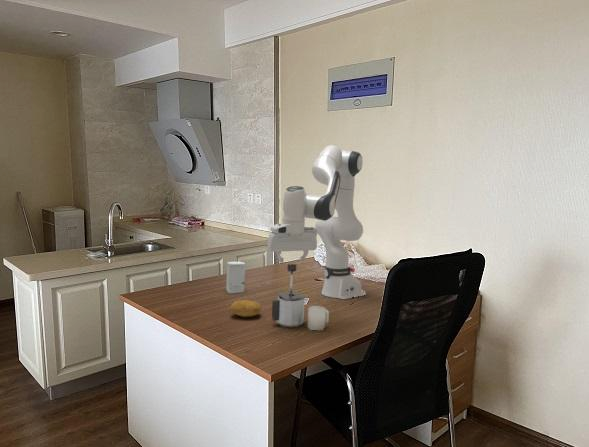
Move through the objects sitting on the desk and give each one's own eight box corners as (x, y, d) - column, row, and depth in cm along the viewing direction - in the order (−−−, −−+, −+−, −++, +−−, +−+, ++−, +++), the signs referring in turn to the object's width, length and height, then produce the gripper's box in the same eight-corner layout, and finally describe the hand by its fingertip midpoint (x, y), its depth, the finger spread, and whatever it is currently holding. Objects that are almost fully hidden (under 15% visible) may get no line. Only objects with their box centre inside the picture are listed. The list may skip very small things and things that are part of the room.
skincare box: (228, 293, 216) (229, 264, 214) (225, 290, 221) (226, 261, 219) (245, 292, 219) (245, 263, 217) (241, 289, 224) (242, 260, 222)
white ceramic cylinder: (323, 323, 180) (323, 304, 179) (330, 329, 173) (331, 310, 172) (304, 325, 176) (305, 306, 175) (311, 332, 170) (312, 312, 169)
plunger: (295, 296, 182) (297, 262, 180) (303, 302, 176) (304, 266, 174) (278, 298, 180) (279, 263, 178) (285, 304, 173) (286, 267, 171)
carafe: (297, 317, 186) (298, 290, 184) (307, 326, 176) (308, 297, 174) (268, 320, 181) (268, 292, 179) (276, 329, 171) (277, 300, 170)
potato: (259, 320, 180) (259, 304, 179) (228, 319, 181) (228, 303, 180) (261, 313, 190) (262, 297, 189) (232, 312, 190) (232, 296, 189)
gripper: (313, 226, 180) (312, 258, 182) (266, 226, 173) (265, 261, 174) (320, 228, 175) (318, 262, 176) (271, 229, 167) (270, 264, 169)
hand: (292, 261), depth 175 cm, fingers open, 8 cm apart
